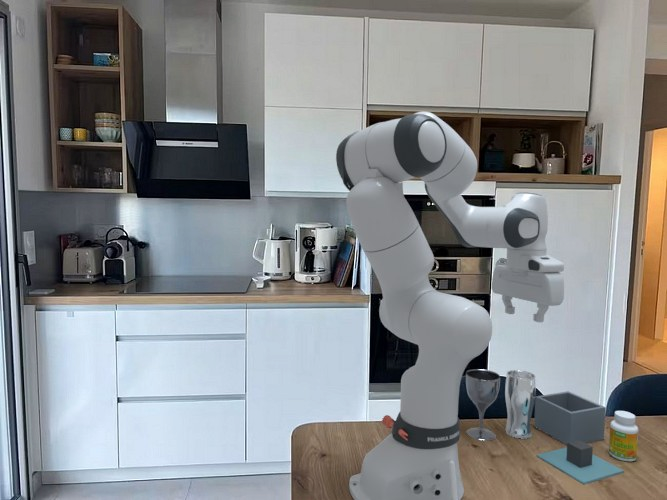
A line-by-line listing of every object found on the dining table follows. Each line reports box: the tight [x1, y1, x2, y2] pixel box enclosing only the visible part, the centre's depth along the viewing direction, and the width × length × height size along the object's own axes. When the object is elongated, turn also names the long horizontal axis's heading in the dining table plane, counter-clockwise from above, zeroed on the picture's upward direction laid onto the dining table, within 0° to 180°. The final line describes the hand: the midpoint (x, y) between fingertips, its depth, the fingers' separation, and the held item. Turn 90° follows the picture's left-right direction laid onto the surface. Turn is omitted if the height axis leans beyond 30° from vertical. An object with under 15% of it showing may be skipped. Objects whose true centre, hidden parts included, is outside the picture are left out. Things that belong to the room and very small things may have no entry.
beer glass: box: [504, 369, 537, 440], centre depth 116 cm, size 7×7×15 cm
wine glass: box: [465, 368, 501, 442], centre depth 116 cm, size 8×8×15 cm
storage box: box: [533, 391, 607, 446], centre depth 117 cm, size 11×11×8 cm
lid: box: [536, 440, 625, 486], centre depth 103 cm, size 12×12×5 cm
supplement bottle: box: [608, 410, 639, 462], centre depth 106 cm, size 5×5×10 cm
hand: (523, 317), depth 115 cm, fingers open, 8 cm apart
